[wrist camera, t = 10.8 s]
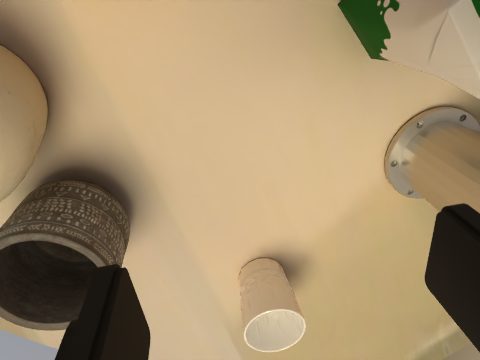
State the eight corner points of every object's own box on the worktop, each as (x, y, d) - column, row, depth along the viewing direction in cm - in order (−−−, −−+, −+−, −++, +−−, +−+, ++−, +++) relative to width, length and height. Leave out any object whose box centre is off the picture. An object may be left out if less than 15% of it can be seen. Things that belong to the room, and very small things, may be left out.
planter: (50, 254, 45) (3, 340, 34) (14, 173, 39) (-57, 243, 28) (143, 242, 46) (128, 321, 35) (122, 160, 40) (95, 223, 29)
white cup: (289, 253, 50) (310, 307, 41) (283, 292, 54) (301, 349, 45) (235, 255, 49) (245, 311, 40) (234, 295, 53) (242, 354, 44)
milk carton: (398, -64, 33) (633, -132, 15) (436, 15, 37) (658, 31, 19) (325, 3, 35) (459, 10, 17) (368, 71, 39) (513, 133, 21)
